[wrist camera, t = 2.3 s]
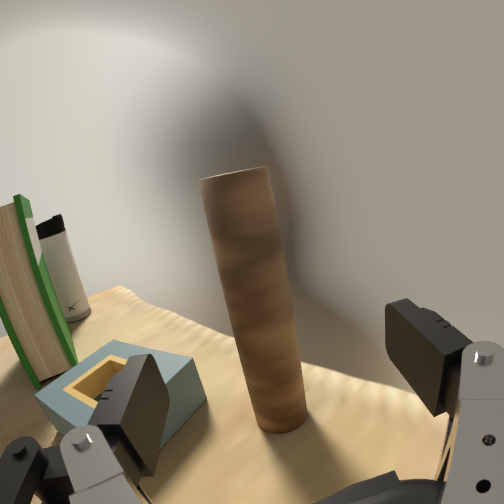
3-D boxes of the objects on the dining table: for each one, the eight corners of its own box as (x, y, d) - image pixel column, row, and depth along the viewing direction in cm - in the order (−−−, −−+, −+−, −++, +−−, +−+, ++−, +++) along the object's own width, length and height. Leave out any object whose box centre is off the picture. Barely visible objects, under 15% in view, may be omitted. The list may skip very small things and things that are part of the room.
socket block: (57, 430, 24) (34, 394, 23) (127, 374, 35) (112, 339, 33) (129, 481, 19) (100, 443, 17) (206, 397, 29) (192, 357, 28)
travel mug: (80, 323, 52) (47, 218, 47) (58, 322, 54) (26, 225, 48) (98, 308, 58) (69, 211, 53) (76, 309, 59) (48, 217, 54)
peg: (247, 427, 24) (184, 183, 19) (268, 395, 28) (221, 174, 22) (296, 437, 22) (248, 170, 17) (313, 401, 26) (278, 164, 20)
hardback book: (81, 372, 36) (19, 194, 29) (36, 389, 32) (-32, 213, 26) (69, 329, 50) (29, 200, 44) (35, 342, 46) (-8, 213, 40)
